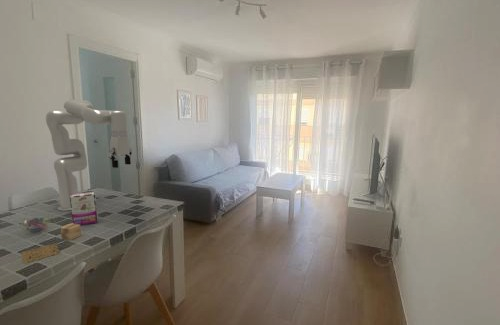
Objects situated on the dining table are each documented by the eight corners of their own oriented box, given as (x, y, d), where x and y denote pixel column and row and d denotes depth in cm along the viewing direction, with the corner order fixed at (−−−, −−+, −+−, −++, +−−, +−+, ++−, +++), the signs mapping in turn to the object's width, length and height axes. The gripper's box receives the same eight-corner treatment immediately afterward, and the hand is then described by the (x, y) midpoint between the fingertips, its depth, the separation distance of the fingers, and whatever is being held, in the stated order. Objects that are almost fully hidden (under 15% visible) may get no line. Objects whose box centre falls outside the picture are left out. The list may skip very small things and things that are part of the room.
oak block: (61, 238, 120) (60, 227, 119) (73, 233, 126) (71, 223, 125) (70, 240, 119) (69, 229, 118) (81, 235, 124) (80, 224, 123)
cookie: (20, 253, 107) (20, 251, 107) (56, 244, 116) (56, 242, 116) (22, 265, 99) (22, 263, 99) (61, 254, 108) (60, 252, 107)
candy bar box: (98, 219, 142) (95, 191, 139) (97, 223, 138) (95, 193, 135) (74, 223, 137) (71, 193, 134) (72, 226, 133) (69, 196, 130)
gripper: (124, 133, 145) (126, 162, 148) (100, 135, 129) (103, 168, 132) (136, 133, 144) (138, 163, 147) (113, 135, 127) (116, 169, 130)
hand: (121, 165), depth 139 cm, fingers open, 9 cm apart
